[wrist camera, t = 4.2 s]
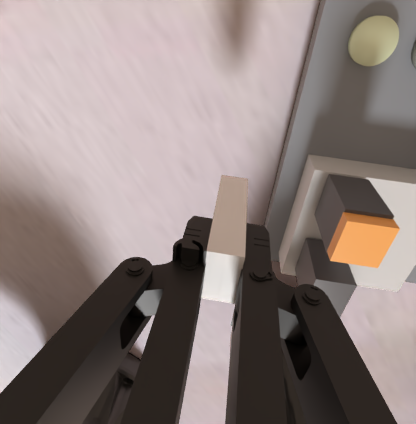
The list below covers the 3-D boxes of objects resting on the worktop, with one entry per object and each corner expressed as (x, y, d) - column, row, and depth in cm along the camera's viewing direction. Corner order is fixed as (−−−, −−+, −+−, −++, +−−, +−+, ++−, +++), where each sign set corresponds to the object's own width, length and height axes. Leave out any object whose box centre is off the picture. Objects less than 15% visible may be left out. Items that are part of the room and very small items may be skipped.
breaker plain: (294, 268, 23) (302, 311, 20) (305, 237, 21) (316, 279, 18) (326, 273, 23) (339, 318, 20) (340, 242, 21) (356, 285, 18)
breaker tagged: (313, 214, 20) (328, 263, 16) (328, 173, 19) (348, 217, 15) (351, 219, 20) (376, 270, 16) (369, 179, 18) (402, 225, 14)
